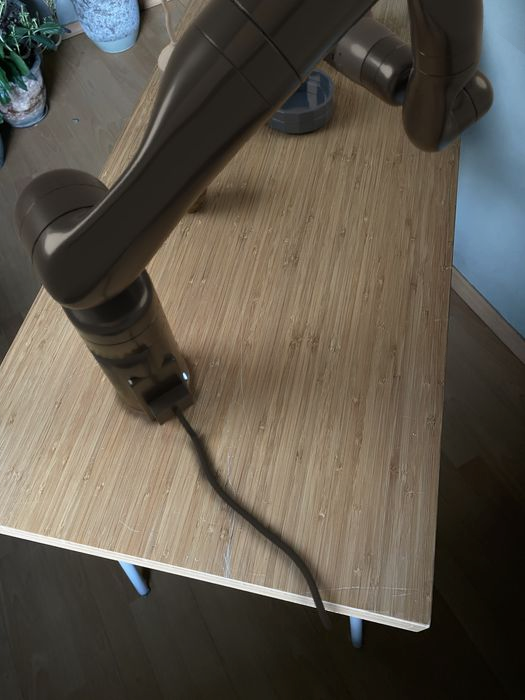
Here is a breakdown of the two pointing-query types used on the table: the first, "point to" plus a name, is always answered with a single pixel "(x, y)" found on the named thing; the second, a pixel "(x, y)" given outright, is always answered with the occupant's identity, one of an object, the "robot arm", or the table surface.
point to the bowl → (307, 105)
